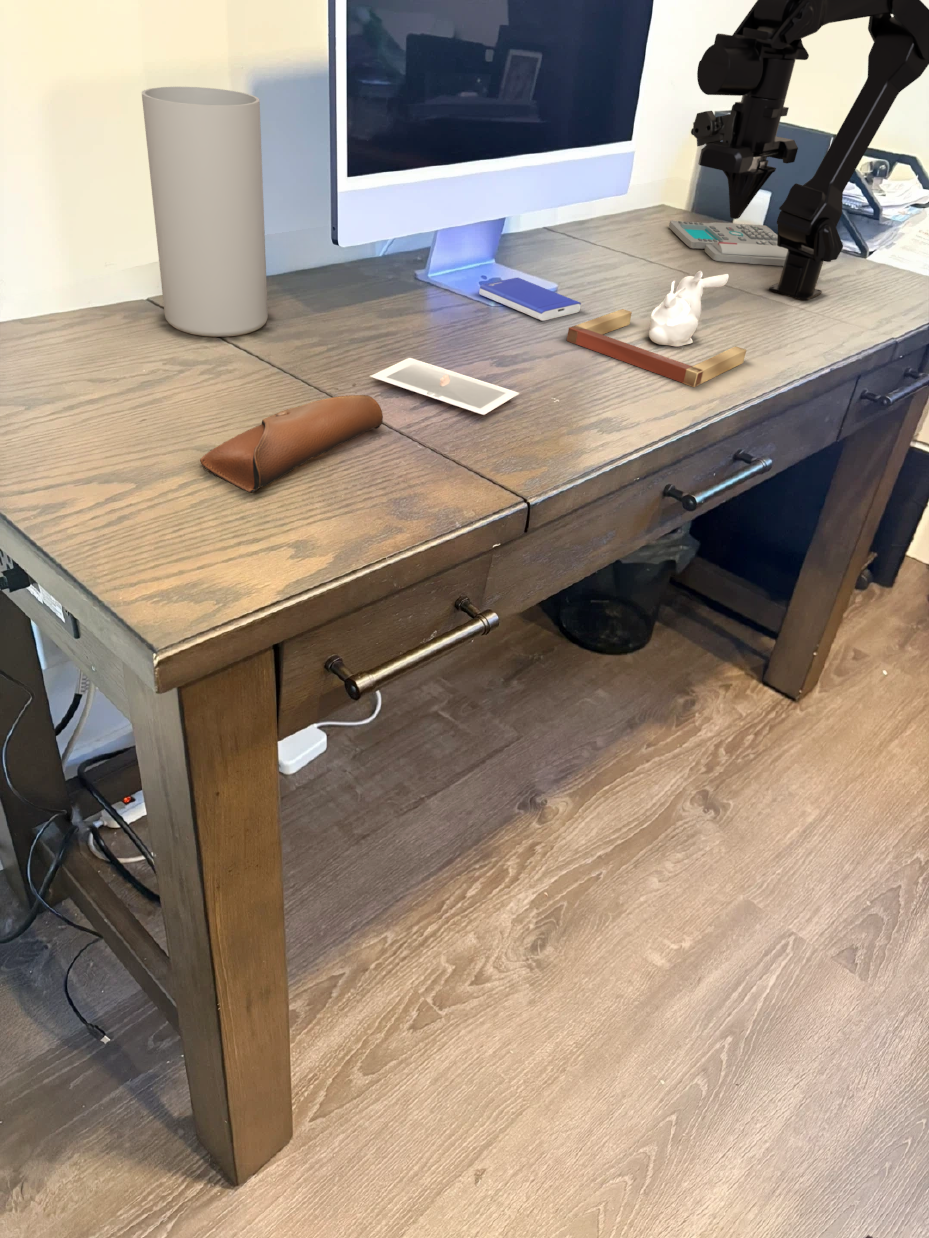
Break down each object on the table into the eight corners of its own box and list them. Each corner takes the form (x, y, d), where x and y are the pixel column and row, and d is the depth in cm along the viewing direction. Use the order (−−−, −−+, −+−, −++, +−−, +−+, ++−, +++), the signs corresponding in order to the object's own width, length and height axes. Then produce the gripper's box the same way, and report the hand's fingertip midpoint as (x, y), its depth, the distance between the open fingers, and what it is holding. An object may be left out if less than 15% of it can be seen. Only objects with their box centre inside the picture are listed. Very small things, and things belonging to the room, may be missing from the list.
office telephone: (816, 253, 162) (706, 246, 159) (811, 269, 163) (703, 262, 160) (767, 218, 180) (668, 211, 177) (763, 232, 182) (665, 225, 179)
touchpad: (409, 366, 110) (409, 348, 109) (518, 402, 105) (520, 384, 103) (369, 385, 105) (369, 367, 103) (482, 424, 99) (484, 405, 98)
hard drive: (479, 284, 133) (542, 310, 127) (519, 276, 138) (581, 301, 131) (478, 295, 134) (540, 322, 128) (518, 287, 139) (579, 312, 132)
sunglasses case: (319, 404, 98) (345, 360, 93) (364, 452, 98) (392, 411, 93) (192, 462, 86) (214, 415, 81) (242, 518, 85) (268, 474, 81)
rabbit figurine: (678, 323, 132) (694, 253, 126) (725, 339, 128) (744, 267, 123) (632, 341, 124) (647, 267, 119) (681, 358, 121) (699, 282, 115)
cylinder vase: (288, 327, 117) (282, 103, 103) (201, 346, 110) (182, 108, 95) (231, 299, 124) (217, 85, 109) (146, 315, 116) (119, 88, 102)
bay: (620, 321, 130) (622, 308, 129) (743, 363, 121) (746, 349, 120) (566, 341, 122) (568, 327, 121) (694, 387, 113) (697, 373, 112)
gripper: (742, 85, 136) (715, 199, 145) (677, 89, 124) (653, 213, 133) (813, 97, 130) (781, 215, 140) (753, 103, 118) (723, 232, 128)
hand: (734, 218), depth 135 cm, fingers closed
